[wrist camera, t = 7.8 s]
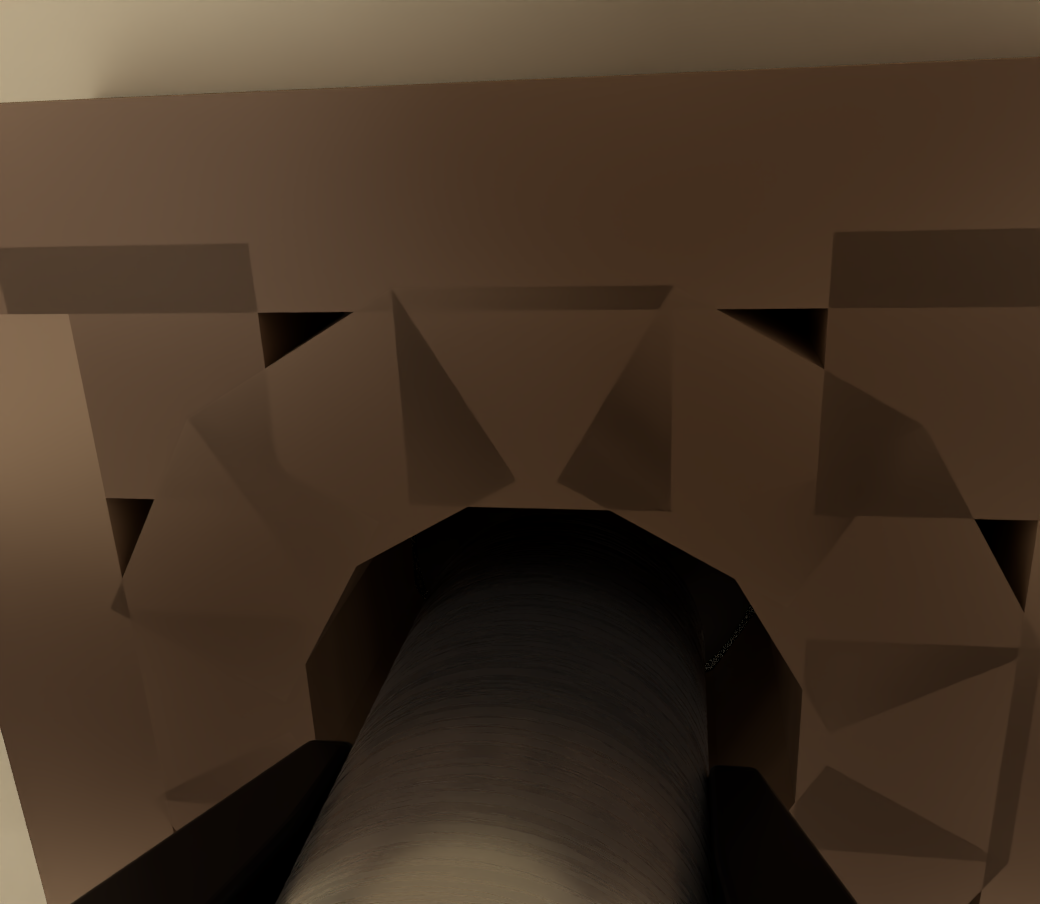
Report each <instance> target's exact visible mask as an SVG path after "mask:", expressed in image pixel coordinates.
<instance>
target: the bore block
mask: <svg viewBox="0 0 1040 904" xmlns="http://www.w3.org/2000/svg"><path fill="white" fill-rule="evenodd" d="M543 513H563V514H575V515H581V516H586V517H590V518H595V519H598V520H601V521H604V522H607V523H610V524H613V525H616V526H618V527H620V528H622V529H624V530H626V531H628V532H630V533H632V534H634V535H636V536H637V537H639V538H640V539H642V540H643V541H645V542H647V543H648V544H649V545H651V546H652V547H653V548H654V549H656V550H657V551H658V552H659V553H660V554H662V555H663V556H664V557H665V558H666V559H667V560H668V562H669V563H670V564H671V565H672V566H673V567H674V568H675V569H676V570H677V572H678V573H679V574H680V576H681V577H682V579H683V580H684V581H685V583H686V584H687V586H688V588H689V590H690V592H691V594H692V596H693V598H694V600H695V602H696V605H697V608H698V611H699V613H700V617H701V622H702V627H703V631H704V650H705V664H706V663H707V662H708V661H709V660H710V659H711V658H712V657H714V656H715V655H716V654H717V653H718V652H719V651H720V650H721V649H722V648H723V646H724V645H725V644H726V643H727V642H728V641H729V639H730V638H731V637H732V636H733V634H734V633H735V631H736V629H737V628H738V626H739V625H740V623H741V622H742V620H743V618H744V616H745V614H746V611H747V609H748V607H749V605H750V604H751V606H752V607H753V609H754V611H755V614H754V615H753V617H752V618H751V619H750V621H749V622H748V623H747V625H746V626H745V627H744V629H743V630H742V631H741V633H740V634H739V635H738V637H737V638H736V640H735V641H734V642H733V644H732V645H731V646H730V648H729V649H728V650H727V652H726V653H725V654H724V656H723V657H722V658H721V660H720V661H719V663H718V664H717V665H716V667H715V668H714V669H713V670H711V671H709V672H707V673H705V678H706V706H707V733H708V761H709V770H710V768H711V767H712V766H714V765H727V766H744V767H753V768H755V769H757V770H758V771H759V772H760V773H761V774H762V776H763V777H764V778H765V780H766V781H767V782H768V784H769V785H770V786H771V788H772V789H773V790H774V792H775V793H776V794H777V796H778V797H779V798H780V800H781V801H782V802H783V804H784V805H785V806H786V808H787V809H788V810H789V812H790V813H791V814H792V816H793V817H794V818H795V820H796V821H797V822H798V824H799V825H800V827H801V828H802V829H803V831H804V832H805V833H806V835H807V836H808V837H809V839H810V840H811V841H812V843H813V844H814V845H815V847H816V848H817V849H818V851H819V852H820V853H821V855H822V856H823V857H824V859H825V860H826V861H827V863H828V864H829V865H830V867H831V868H832V869H833V871H834V872H835V873H836V875H837V876H838V877H839V879H840V880H841V881H842V883H843V884H844V885H845V887H846V888H847V890H848V891H849V892H850V894H851V895H852V896H853V898H854V899H855V900H856V902H857V903H858V904H1040V57H1024V58H1001V59H978V60H956V61H933V62H911V63H888V64H865V65H843V66H820V67H798V68H775V69H752V70H730V71H707V72H685V73H662V74H639V75H617V76H594V77H572V78H549V79H526V80H504V81H481V82H459V83H436V84H413V85H391V86H368V87H346V88H323V89H300V90H278V91H255V92H233V93H210V94H187V95H165V96H142V97H120V98H97V99H75V100H53V101H31V102H10V103H0V728H1V731H2V735H3V739H4V743H5V746H6V750H7V754H8V758H9V761H10V765H11V769H12V773H13V776H14V780H15V784H16V788H17V791H18V795H19V799H20V803H21V806H22V810H23V814H24V818H25V821H26V825H27V829H28V833H29V836H30V840H31V844H32V848H33V851H34V855H35V859H36V863H37V866H38V870H39V874H40V878H41V881H42V885H43V889H44V893H45V896H46V900H47V904H71V903H72V902H74V901H75V900H77V899H78V898H79V897H81V896H82V895H84V894H85V893H87V892H88V891H90V890H91V889H93V888H94V887H96V886H97V885H98V884H100V883H101V882H103V881H104V880H106V879H107V878H109V877H110V876H112V875H113V874H115V873H116V872H118V871H119V870H120V869H122V868H123V867H125V866H126V865H128V864H129V863H131V862H132V861H134V860H135V859H137V858H138V857H139V856H141V855H142V854H144V853H145V852H147V851H148V850H150V849H151V848H153V847H154V846H156V845H157V844H158V843H160V842H161V841H163V840H164V839H166V838H167V837H169V836H170V835H172V834H173V833H175V832H176V831H177V830H179V829H180V828H182V827H183V826H185V825H186V824H188V823H189V822H191V821H192V820H194V819H195V818H196V817H198V816H199V815H201V814H202V813H204V812H205V811H207V810H208V809H210V808H211V807H213V806H214V805H216V804H217V803H218V802H220V801H221V800H223V799H224V798H226V797H227V796H229V795H230V794H232V793H233V792H235V791H236V790H237V789H239V788H240V787H242V786H243V785H245V784H246V783H248V782H249V781H251V780H252V779H254V778H255V777H256V776H258V775H259V774H261V773H262V772H264V771H265V770H267V769H268V768H270V767H271V766H273V765H274V764H275V763H277V762H278V761H280V760H281V759H283V758H284V757H286V756H287V755H289V754H290V753H292V752H293V751H295V750H296V749H297V748H299V747H300V746H302V745H303V744H305V743H307V742H309V741H311V740H331V741H347V742H350V743H351V744H352V745H354V743H355V741H356V739H357V737H358V735H359V733H360V731H361V729H362V727H363V724H364V722H365V720H366V718H367V716H368V714H369V712H370V710H371V708H372V706H373V704H374V702H375V700H376V698H377V696H378V694H379V692H380V690H381V688H382V686H383V684H384V682H385V680H386V678H387V676H388V674H389V672H390V670H391V668H392V666H393V664H394V662H395V659H396V657H397V655H398V653H399V651H400V649H401V647H402V645H403V643H404V641H405V639H406V637H407V635H408V633H409V631H410V629H411V627H412V625H413V623H414V621H415V619H416V617H417V615H418V613H419V611H420V609H421V607H422V605H423V603H424V601H425V600H424V599H423V597H422V596H421V594H420V593H419V592H418V590H417V589H416V587H415V576H414V565H413V553H412V542H411V537H412V536H414V535H416V534H417V552H418V559H419V565H420V570H421V574H422V577H423V580H424V584H425V587H426V590H427V592H429V590H430V588H431V586H432V584H433V582H434V580H435V578H436V576H437V574H438V573H439V571H440V570H441V568H442V567H443V565H444V564H445V562H446V561H447V560H448V559H449V558H450V557H451V555H452V554H453V553H454V552H455V551H456V550H457V549H458V548H459V547H460V546H462V545H463V544H464V543H465V542H466V541H468V540H469V539H470V538H472V537H473V536H475V535H477V534H478V533H480V532H481V531H483V530H485V529H487V528H489V527H491V526H493V525H496V524H498V523H500V522H503V521H506V520H510V519H513V518H517V517H520V516H527V515H533V514H543Z"/></svg>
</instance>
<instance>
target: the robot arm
mask: <svg viewBox="0 0 1040 904" xmlns="http://www.w3.org/2000/svg"><path fill="white" fill-rule="evenodd" d="M352 747H353V745H352V744H351V743H350V742H347V741H331V740H311V741H309V742H307V743H305V744H303V745H302V746H300V747H299V748H297V749H296V750H295V751H293V752H292V753H290V754H289V755H287V756H286V757H284V758H283V759H281V760H280V761H278V762H277V763H275V764H274V765H273V766H271V767H270V768H268V769H267V770H265V771H264V772H262V773H261V774H259V775H258V776H256V777H255V778H254V779H252V780H251V781H249V782H248V783H246V784H245V785H243V786H242V787H240V788H239V789H237V790H236V791H235V792H233V793H232V794H230V795H229V796H227V797H226V798H224V799H223V800H221V801H220V802H218V803H217V804H216V805H214V806H213V807H211V808H210V809H208V810H207V811H205V812H204V813H202V814H201V815H199V816H198V817H196V818H195V819H194V820H192V821H191V822H189V823H188V824H186V825H185V826H183V827H182V828H180V829H179V830H177V831H176V832H175V833H173V834H172V835H170V836H169V837H167V838H166V839H164V840H163V841H161V842H160V843H158V844H157V845H156V846H154V847H153V848H151V849H150V850H148V851H147V852H145V853H144V854H142V855H141V856H139V857H138V858H137V859H135V860H134V861H132V862H131V863H129V864H128V865H126V866H125V867H123V868H122V869H120V870H119V871H118V872H116V873H115V874H113V875H112V876H110V877H109V878H107V879H106V880H104V881H103V882H101V883H100V884H98V885H97V886H96V887H94V888H93V889H91V890H90V891H88V892H87V893H85V894H84V895H82V896H81V897H79V898H78V899H77V900H75V901H74V902H72V903H71V904H275V903H276V901H277V899H278V897H279V895H280V893H281V891H282V889H283V887H284V885H285V883H286V881H287V879H288V877H289V875H290V873H291V871H292V869H293V867H294V865H295V863H296V861H297V859H298V856H299V854H300V852H301V850H302V848H303V846H304V844H305V842H306V840H307V838H308V836H309V834H310V832H311V830H312V828H313V826H314V824H315V822H316V820H317V818H318V816H319V814H320V812H321V810H322V808H323V806H324V804H325V802H326V800H327V798H328V796H329V794H330V791H331V789H332V787H333V785H334V783H335V781H336V779H337V777H338V775H339V773H340V771H341V769H342V767H343V765H344V763H345V761H346V759H347V757H348V755H349V753H350V751H351V749H352ZM708 792H709V821H710V850H711V878H712V897H713V904H858V903H857V902H856V900H855V899H854V898H853V896H852V895H851V894H850V892H849V891H848V890H847V888H846V887H845V885H844V884H843V883H842V881H841V880H840V879H839V877H838V876H837V875H836V873H835V872H834V871H833V869H832V868H831V867H830V865H829V864H828V863H827V861H826V860H825V859H824V857H823V856H822V855H821V853H820V852H819V851H818V849H817V848H816V847H815V845H814V844H813V843H812V841H811V840H810V839H809V837H808V836H807V835H806V833H805V832H804V831H803V829H802V828H801V827H800V825H799V824H798V822H797V821H796V820H795V818H794V817H793V816H792V814H791V813H790V812H789V810H788V809H787V808H786V806H785V805H784V804H783V802H782V801H781V800H780V798H779V797H778V796H777V794H776V793H775V792H774V790H773V789H772V788H771V786H770V785H769V784H768V782H767V781H766V780H765V778H764V777H763V776H762V774H761V773H760V772H759V771H758V770H757V769H755V768H753V767H744V766H727V765H714V766H712V767H711V768H710V770H709V774H708Z"/></svg>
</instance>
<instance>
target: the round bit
mask: <svg viewBox="0 0 1040 904" xmlns="http://www.w3.org/2000/svg"><path fill="white" fill-rule="evenodd" d="M708 774H709V761H708V733H707V706H706V678H705V650H704V631H703V627H702V622H701V617H700V613H699V611H698V608H697V605H696V602H695V600H694V598H693V596H692V594H691V592H690V590H689V588H688V586H687V584H686V583H685V581H684V580H683V579H682V577H681V576H680V574H679V573H678V572H677V570H676V569H675V568H674V567H673V566H672V565H671V564H670V563H669V562H668V560H667V559H666V558H665V557H664V556H663V555H662V554H660V553H659V552H658V551H657V550H656V549H654V548H653V547H652V546H651V545H649V544H648V543H647V542H645V541H643V540H642V539H640V538H639V537H637V536H636V535H634V534H632V533H630V532H628V531H626V530H624V529H622V528H620V527H618V526H616V525H613V524H610V523H607V522H604V521H601V520H598V519H595V518H590V517H586V516H581V515H575V514H563V513H543V514H533V515H527V516H520V517H517V518H513V519H510V520H506V521H503V522H500V523H498V524H496V525H493V526H491V527H489V528H487V529H485V530H483V531H481V532H480V533H478V534H477V535H475V536H473V537H472V538H470V539H469V540H468V541H466V542H465V543H464V544H463V545H462V546H460V547H459V548H458V549H457V550H456V551H455V552H454V553H453V554H452V555H451V557H450V558H449V559H448V560H447V561H446V562H445V564H444V565H443V567H442V568H441V570H440V571H439V573H438V574H437V576H436V578H435V580H434V582H433V584H432V586H431V588H430V590H429V592H428V595H427V597H426V599H425V601H424V603H423V605H422V607H421V609H420V611H419V613H418V615H417V617H416V619H415V621H414V623H413V625H412V627H411V629H410V631H409V633H408V635H407V637H406V639H405V641H404V643H403V645H402V647H401V649H400V651H399V653H398V655H397V657H396V659H395V662H394V664H393V666H392V668H391V670H390V672H389V674H388V676H387V678H386V680H385V682H384V684H383V686H382V688H381V690H380V692H379V694H378V696H377V698H376V700H375V702H374V704H373V706H372V708H371V710H370V712H369V714H368V716H367V718H366V720H365V722H364V724H363V727H362V729H361V731H360V733H359V735H358V737H357V739H356V741H355V743H354V745H353V747H352V749H351V751H350V753H349V755H348V757H347V759H346V761H345V763H344V765H343V767H342V769H341V771H340V773H339V775H338V777H337V779H336V781H335V783H334V785H333V787H332V789H331V791H330V794H329V796H328V798H327V800H326V802H325V804H324V806H323V808H322V810H321V812H320V814H319V816H318V818H317V820H316V822H315V824H314V826H313V828H312V830H311V832H310V834H309V836H308V838H307V840H306V842H305V844H304V846H303V848H302V850H301V852H300V854H299V856H298V859H297V861H296V863H295V865H294V867H293V869H292V871H291V873H290V875H289V877H288V879H287V881H286V883H285V885H284V887H283V889H282V891H281V893H280V895H279V897H278V899H277V901H276V903H275V904H713V897H712V878H711V850H710V821H709V792H708Z"/></svg>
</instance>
